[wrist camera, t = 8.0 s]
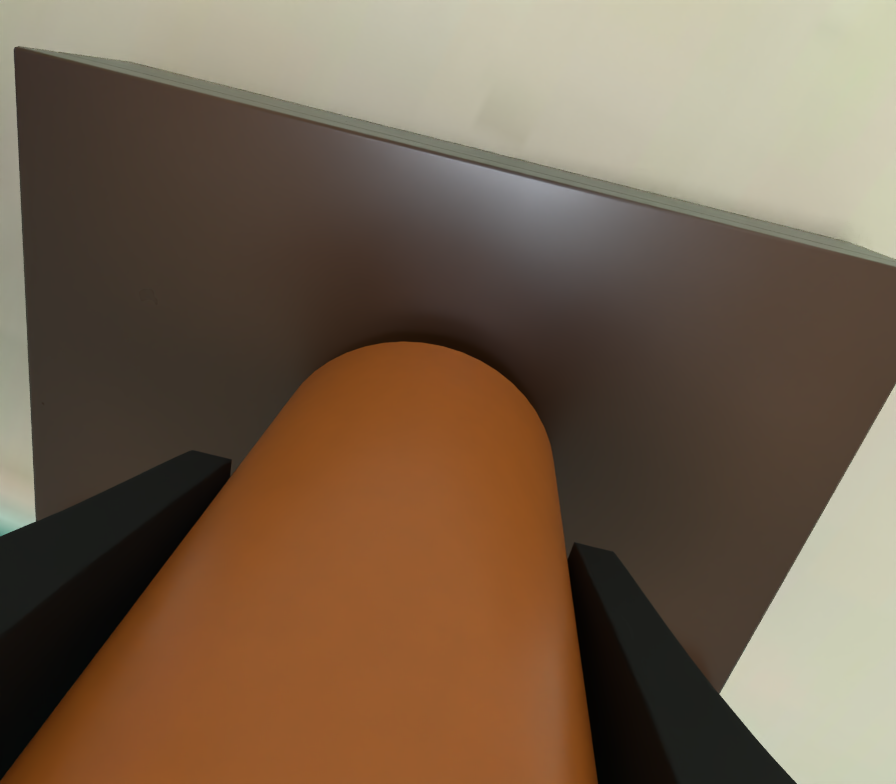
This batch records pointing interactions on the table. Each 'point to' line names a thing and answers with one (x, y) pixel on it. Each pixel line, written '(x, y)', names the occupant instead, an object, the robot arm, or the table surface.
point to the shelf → (440, 318)
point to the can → (352, 604)
